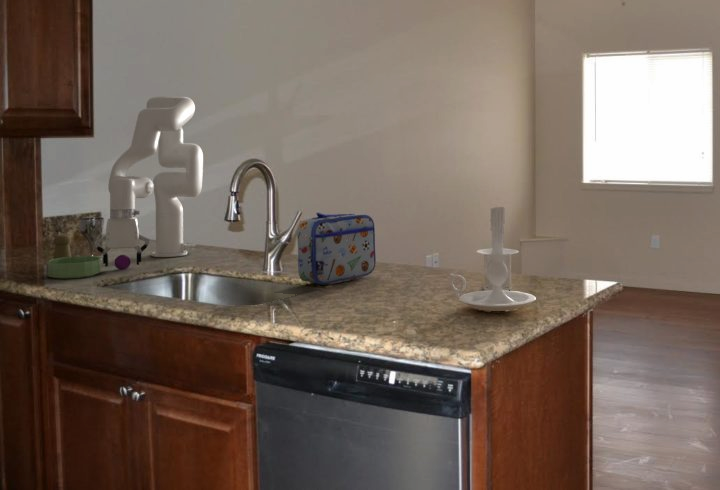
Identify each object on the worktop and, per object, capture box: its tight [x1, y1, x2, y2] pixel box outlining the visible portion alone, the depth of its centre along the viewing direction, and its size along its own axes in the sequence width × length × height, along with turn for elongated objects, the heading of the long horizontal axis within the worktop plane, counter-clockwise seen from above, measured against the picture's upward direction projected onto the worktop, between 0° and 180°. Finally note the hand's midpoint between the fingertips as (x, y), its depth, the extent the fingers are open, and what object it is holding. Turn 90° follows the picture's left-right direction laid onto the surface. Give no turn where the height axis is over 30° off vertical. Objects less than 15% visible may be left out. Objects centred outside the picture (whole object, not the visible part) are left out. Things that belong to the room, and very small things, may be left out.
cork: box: [53, 234, 72, 259], centre depth 272 cm, size 6×6×11 cm
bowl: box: [46, 255, 102, 280], centre depth 257 cm, size 15×15×5 cm
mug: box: [482, 247, 513, 291], centre depth 237 cm, size 12×8×12 cm
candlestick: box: [448, 205, 537, 313], centre depth 212 cm, size 21×25×28 cm
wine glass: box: [78, 216, 105, 261], centre depth 288 cm, size 8×8×15 cm
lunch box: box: [296, 212, 377, 286], centre depth 250 cm, size 28×10×22 cm, turn 144°
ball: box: [113, 254, 132, 271], centre depth 268 cm, size 5×5×5 cm
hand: (122, 265), depth 268 cm, fingers open, 9 cm apart
